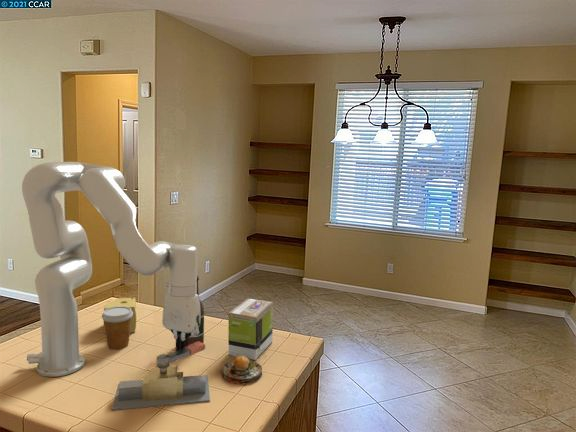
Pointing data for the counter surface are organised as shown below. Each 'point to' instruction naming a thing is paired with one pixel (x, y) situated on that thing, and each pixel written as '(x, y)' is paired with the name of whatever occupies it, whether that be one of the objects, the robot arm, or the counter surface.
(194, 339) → the beer bottle
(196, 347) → the lever
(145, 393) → the valve
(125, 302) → the cheese
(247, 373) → the plate of food
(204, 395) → the mat
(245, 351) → the tea box
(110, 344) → the disposable coffee cup
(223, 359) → the counter surface
